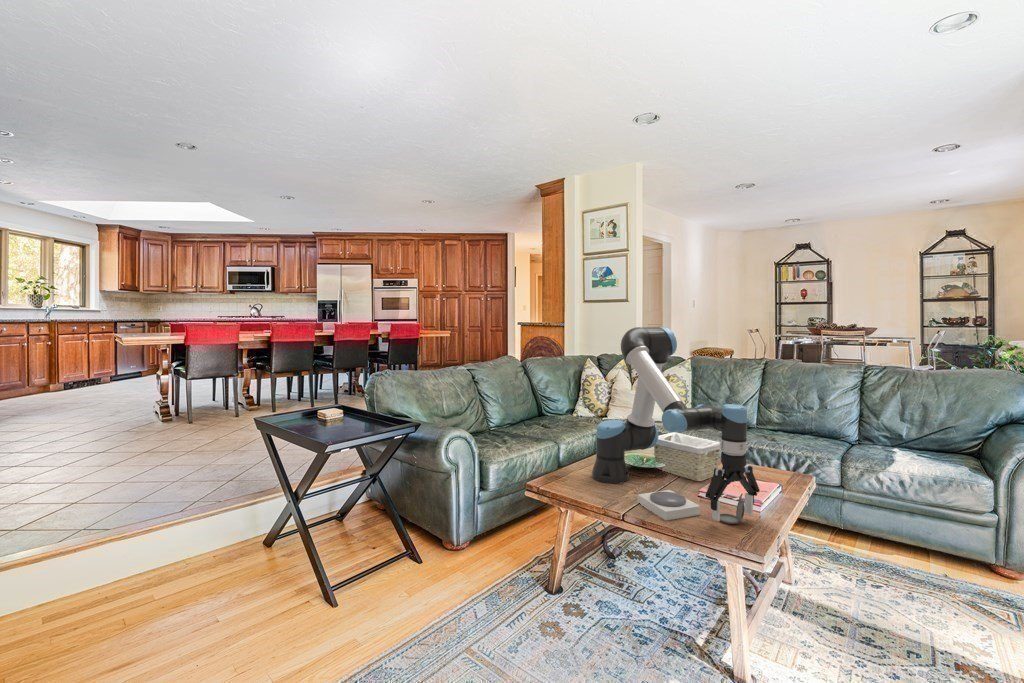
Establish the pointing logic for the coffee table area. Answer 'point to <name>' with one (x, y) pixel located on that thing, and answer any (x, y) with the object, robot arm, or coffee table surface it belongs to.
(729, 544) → the coffee table surface
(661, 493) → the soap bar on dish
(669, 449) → the storage basket
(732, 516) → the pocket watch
